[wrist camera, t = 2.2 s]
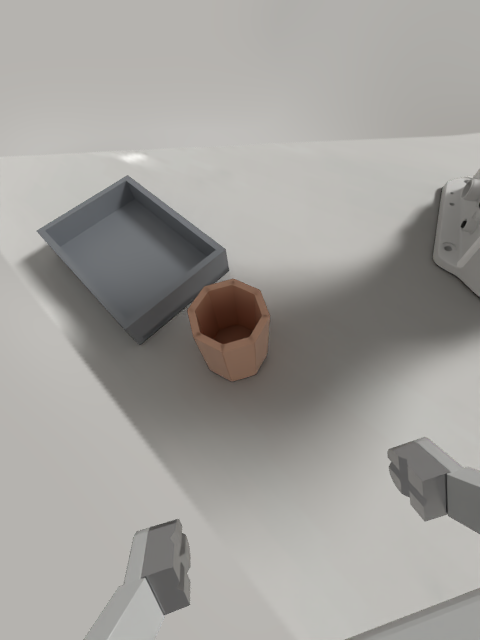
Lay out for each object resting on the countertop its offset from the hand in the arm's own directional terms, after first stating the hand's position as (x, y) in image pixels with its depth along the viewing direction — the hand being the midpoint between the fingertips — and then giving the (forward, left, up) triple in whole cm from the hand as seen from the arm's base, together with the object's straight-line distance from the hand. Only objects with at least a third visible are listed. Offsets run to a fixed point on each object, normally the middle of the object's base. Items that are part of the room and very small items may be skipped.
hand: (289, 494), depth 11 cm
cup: (-11, -6, -17) cm, 21 cm away
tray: (-22, -21, -17) cm, 34 cm away
